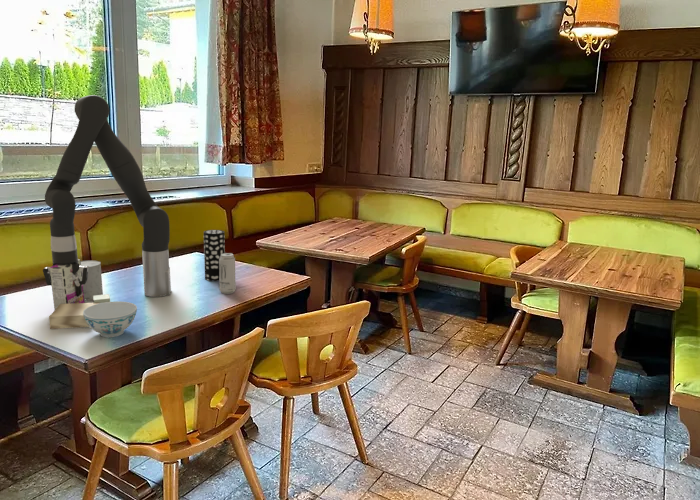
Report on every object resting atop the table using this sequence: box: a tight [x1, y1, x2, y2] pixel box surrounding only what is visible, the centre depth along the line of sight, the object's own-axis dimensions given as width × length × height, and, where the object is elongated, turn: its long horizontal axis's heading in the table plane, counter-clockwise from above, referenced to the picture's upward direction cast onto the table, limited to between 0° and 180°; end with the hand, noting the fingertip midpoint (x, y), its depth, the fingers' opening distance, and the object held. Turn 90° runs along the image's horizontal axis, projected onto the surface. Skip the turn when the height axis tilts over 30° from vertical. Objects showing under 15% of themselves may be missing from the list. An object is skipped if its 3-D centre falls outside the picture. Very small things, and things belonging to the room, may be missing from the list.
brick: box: [92, 293, 111, 303], centre depth 181 cm, size 5×5×5 cm
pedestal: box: [48, 302, 100, 330], centre depth 171 cm, size 12×12×4 cm
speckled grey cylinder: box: [80, 259, 104, 301], centre depth 194 cm, size 10×10×12 cm
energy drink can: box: [218, 252, 236, 295], centre depth 204 cm, size 6×6×15 cm
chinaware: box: [83, 301, 138, 338], centre depth 162 cm, size 15×15×8 cm
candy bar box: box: [49, 258, 86, 310], centre depth 180 cm, size 11×5×16 cm, turn 179°
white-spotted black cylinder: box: [203, 229, 226, 282], centre depth 220 cm, size 8×8×20 cm
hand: (68, 296), depth 180 cm, fingers closed on candy bar box, 5 cm apart
